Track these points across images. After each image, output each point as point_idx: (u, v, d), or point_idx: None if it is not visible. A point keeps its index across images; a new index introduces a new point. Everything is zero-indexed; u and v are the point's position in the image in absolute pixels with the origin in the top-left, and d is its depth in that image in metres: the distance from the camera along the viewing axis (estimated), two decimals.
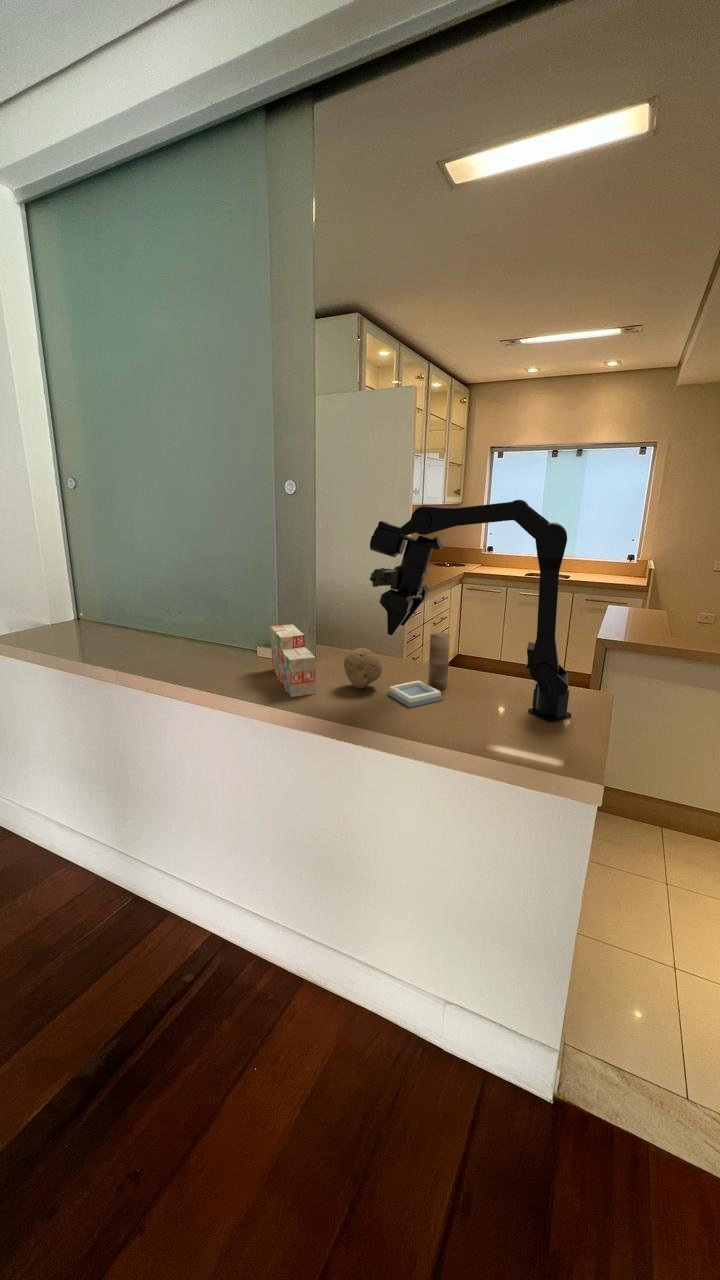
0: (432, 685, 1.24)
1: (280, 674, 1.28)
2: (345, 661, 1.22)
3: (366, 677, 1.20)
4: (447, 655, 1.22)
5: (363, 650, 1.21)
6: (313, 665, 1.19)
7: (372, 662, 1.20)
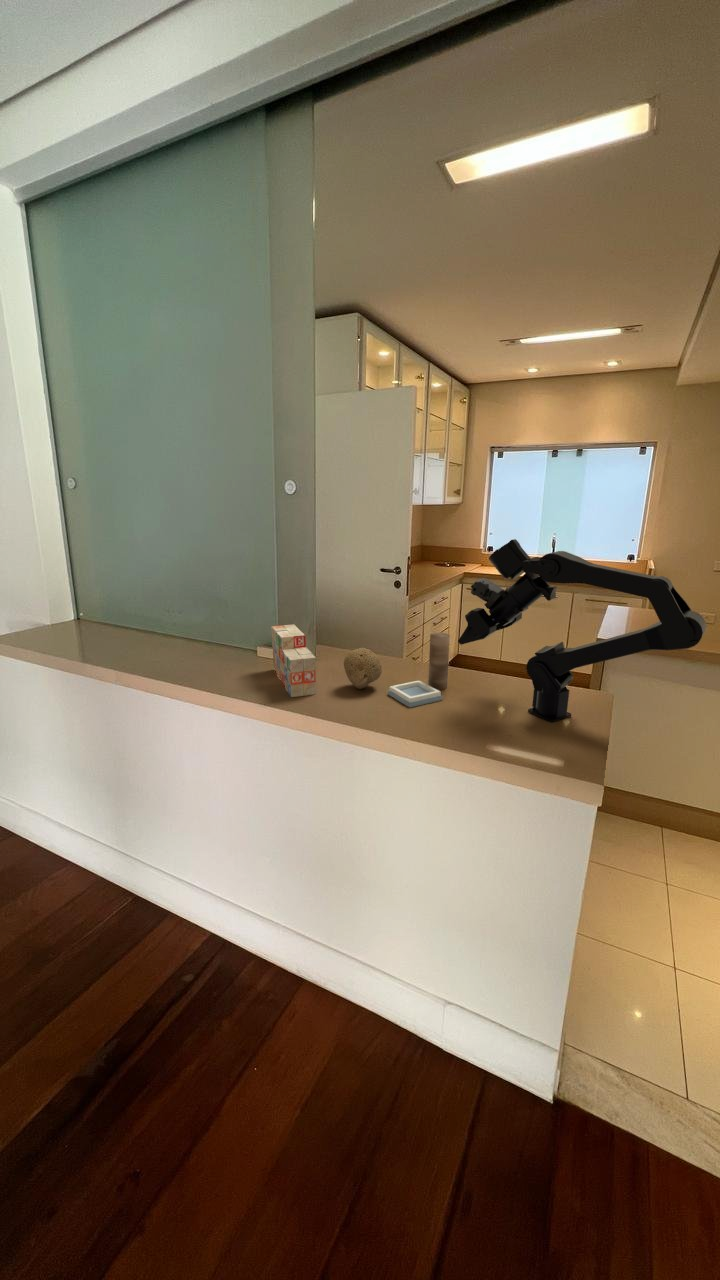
0: (432, 685, 1.24)
1: (281, 674, 1.28)
2: (345, 661, 1.22)
3: (366, 677, 1.20)
4: (447, 655, 1.22)
5: (363, 650, 1.21)
6: (313, 665, 1.19)
7: (372, 662, 1.20)
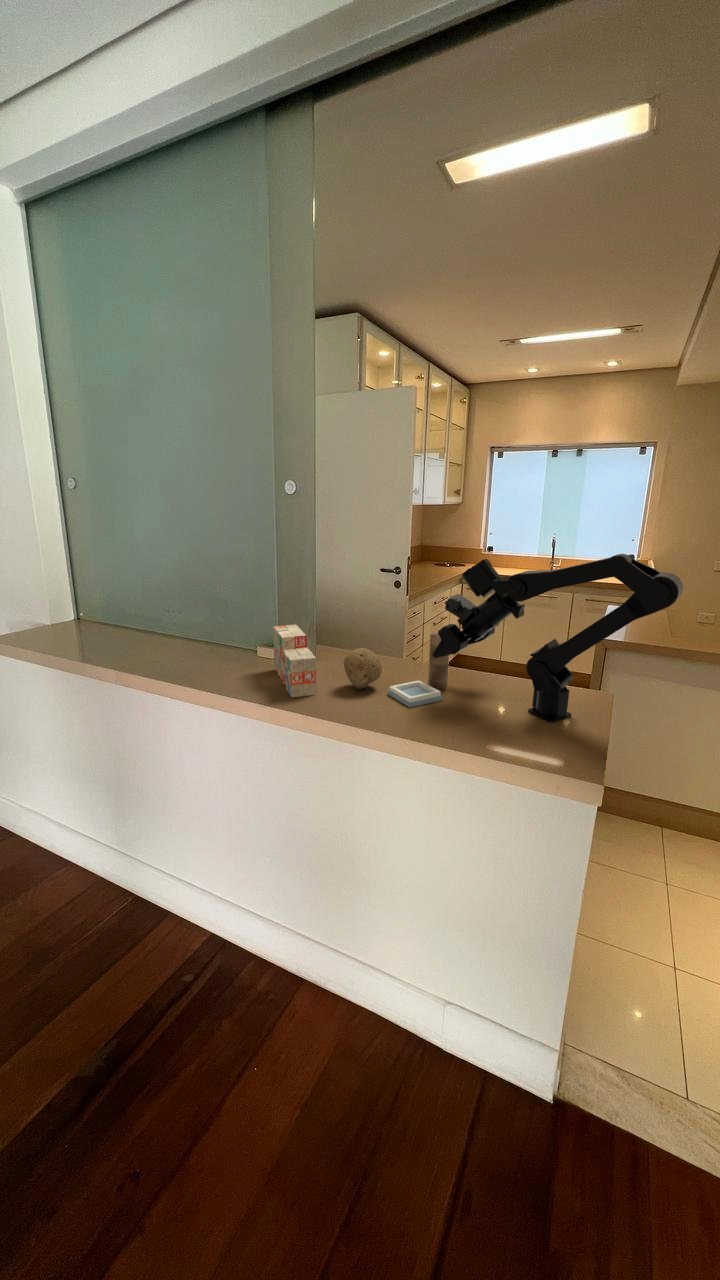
0: (432, 685, 1.24)
1: (282, 674, 1.28)
2: (345, 661, 1.22)
3: (366, 677, 1.20)
4: (447, 655, 1.22)
5: (363, 650, 1.21)
6: (314, 666, 1.19)
7: (372, 662, 1.20)
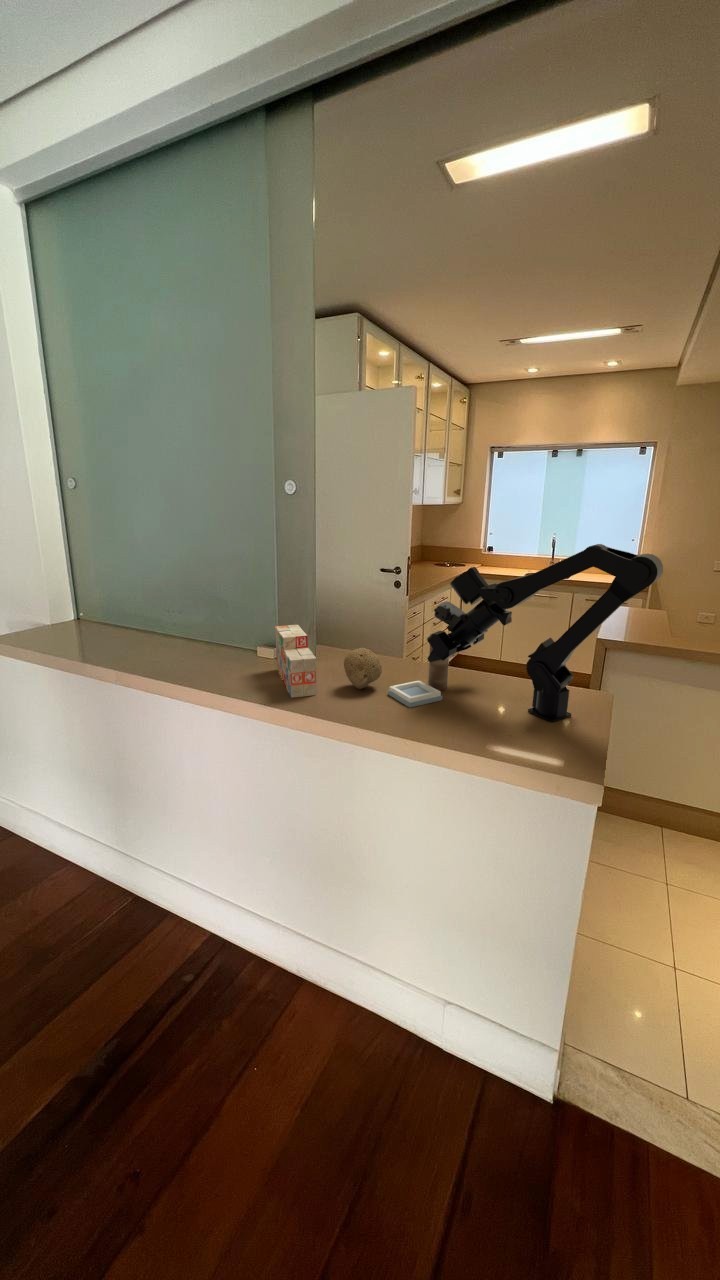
0: (432, 685, 1.24)
1: (283, 674, 1.28)
2: (345, 661, 1.22)
3: (366, 677, 1.20)
4: None
5: (363, 650, 1.21)
6: (314, 666, 1.18)
7: (372, 662, 1.20)
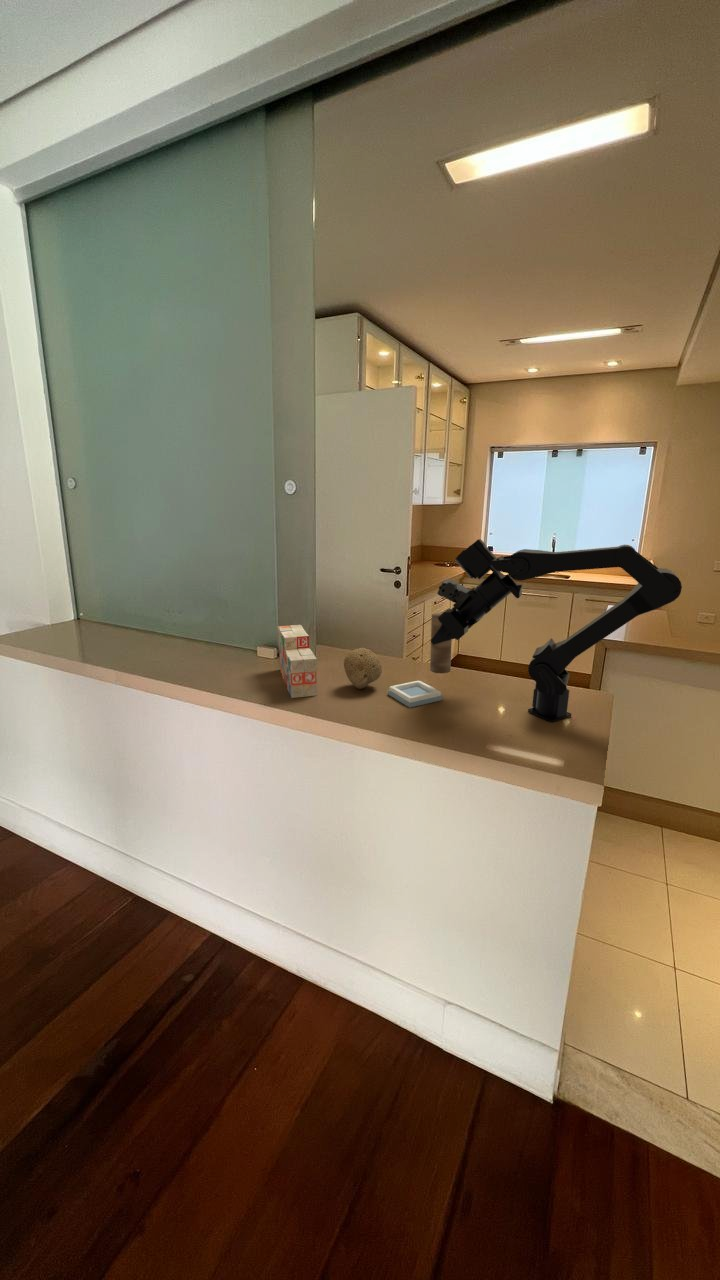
0: (436, 669, 1.16)
1: (284, 674, 1.28)
2: (345, 661, 1.22)
3: (366, 677, 1.20)
4: None
5: (363, 650, 1.21)
6: (314, 666, 1.18)
7: (372, 662, 1.20)
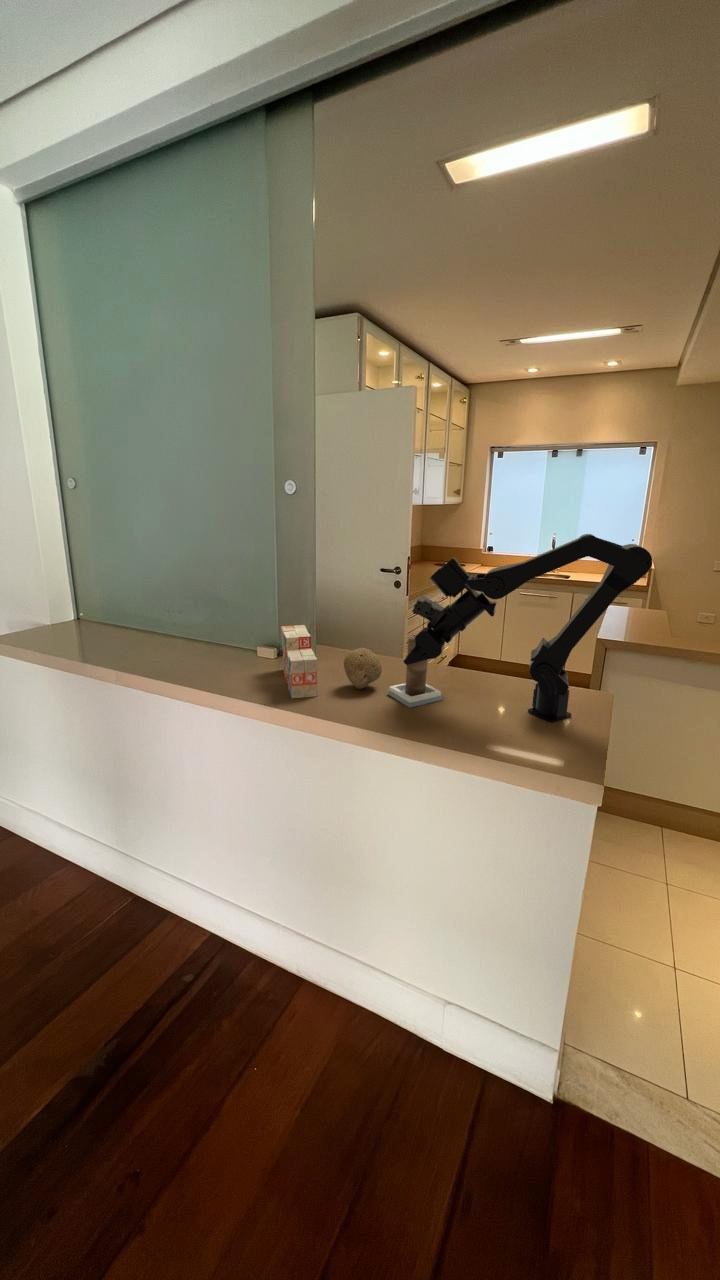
0: (412, 692, 1.17)
1: (286, 675, 1.28)
2: (345, 661, 1.22)
3: (366, 677, 1.20)
4: (427, 660, 1.16)
5: (363, 650, 1.21)
6: (315, 667, 1.18)
7: (372, 662, 1.20)
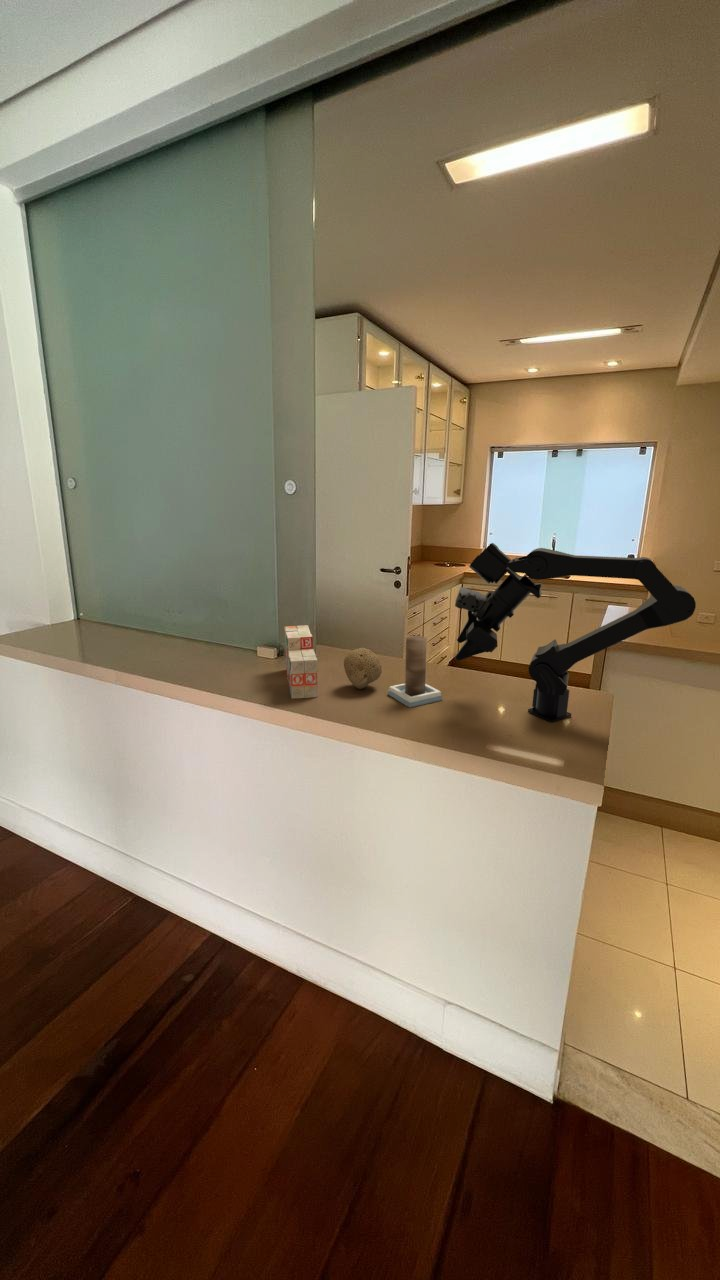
0: (411, 692, 1.17)
1: (288, 675, 1.28)
2: (345, 661, 1.22)
3: (366, 677, 1.20)
4: (425, 659, 1.16)
5: (363, 650, 1.21)
6: (315, 668, 1.17)
7: (372, 662, 1.20)
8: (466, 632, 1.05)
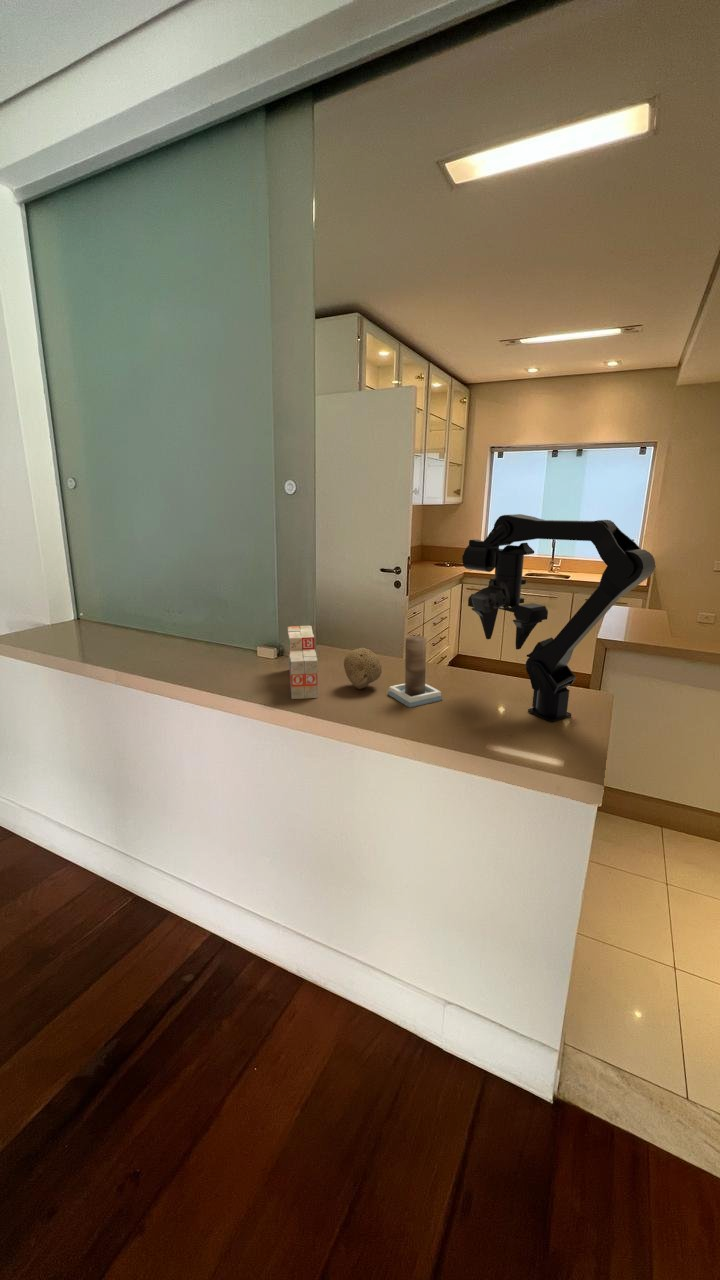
0: (411, 692, 1.17)
1: None
2: (345, 661, 1.22)
3: (366, 677, 1.20)
4: (425, 659, 1.16)
5: (363, 650, 1.21)
6: (315, 668, 1.17)
7: (372, 662, 1.20)
8: (518, 622, 1.06)
